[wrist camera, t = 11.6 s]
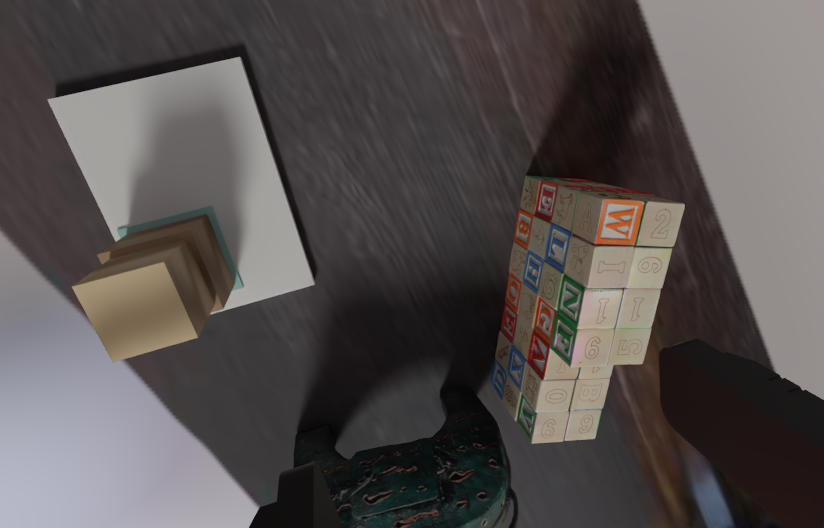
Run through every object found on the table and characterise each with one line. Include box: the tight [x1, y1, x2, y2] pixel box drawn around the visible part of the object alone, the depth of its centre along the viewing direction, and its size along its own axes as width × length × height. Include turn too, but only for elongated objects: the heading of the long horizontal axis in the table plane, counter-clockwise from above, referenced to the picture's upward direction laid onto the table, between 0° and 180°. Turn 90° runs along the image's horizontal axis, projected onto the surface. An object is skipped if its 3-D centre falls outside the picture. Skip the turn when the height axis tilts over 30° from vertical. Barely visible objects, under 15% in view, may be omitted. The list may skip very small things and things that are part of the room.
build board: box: [48, 57, 315, 314], centre depth 35 cm, size 18×13×1 cm
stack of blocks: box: [491, 175, 685, 443], centre depth 39 cm, size 21×6×12 cm, turn 175°
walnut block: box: [97, 214, 235, 312], centre depth 33 cm, size 6×6×5 cm
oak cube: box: [72, 239, 215, 362], centre depth 29 cm, size 5×5×5 cm
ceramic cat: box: [294, 386, 518, 528], centre depth 36 cm, size 20×6×20 cm, turn 101°
